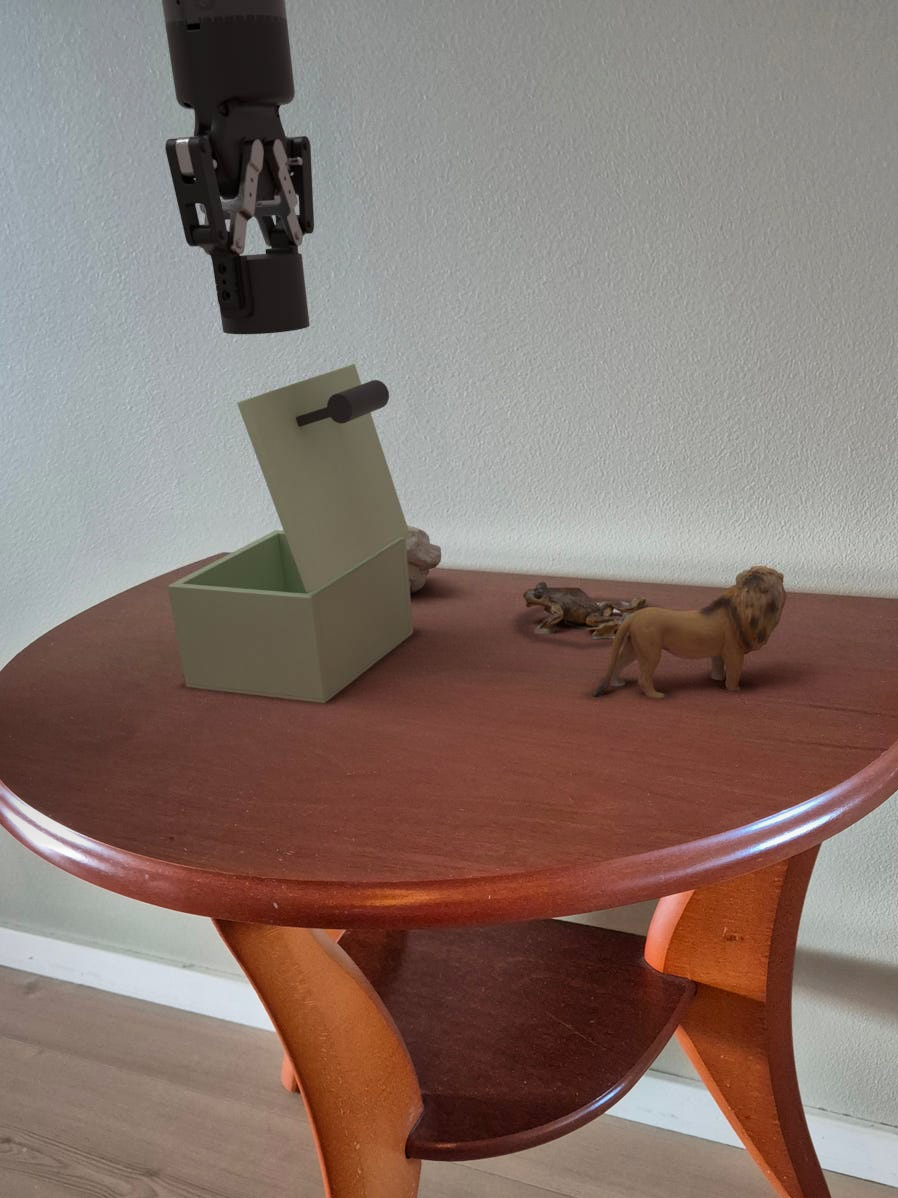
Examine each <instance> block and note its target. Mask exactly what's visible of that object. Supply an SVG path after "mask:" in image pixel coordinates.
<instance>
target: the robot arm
mask: <svg viewBox="0 0 898 1198" xmlns="http://www.w3.org/2000/svg"><path fill="white" fill-rule="evenodd" d="M161 5H162V11H163V12H162V13H163V18H164V26H165V32H166V38H167V44H168V46H167V47H168V52H169V53H168V54H169V59H170V60H169V61H170V65H171V72H172V78H173V85H174V92H175V99H176V101H177V103H178V105H179V106H180V107H181V108H183V109H186V110H191V111H192V110H193V111H194V128H193V136H182V137H181V136H180V137H176V138H168V139H167V140H166V141H165V146H164V147H165V154H166V157H167V162H168V167H169V171H170V175H171V176H170V177H171V180H172V184H173V189H174V193H175V197H176V203H177V207H178V211H179V216H180V220H181V225H182V229H183V233H184V238H185V241H186V243H187V245H188V246H189V247H193V248H194V247H198V248H201V249H202V250H203V251H204V253H205V254H206V255H207V256H210V259H211V261H212V262H211V263H212V270H213V278H214V284H215V290H216V298H217V303H218V305H219V306H220V307H219V313H220V312H221V313H220V315H221V314H222V316H223V317H225V318H228V319H229V318H247V317H251V316H252V315H253V313H254V307H253V299H252V292H251V284H250V277H249V269H248V262H247V255H248V254H245V255H244V254H243V253H244V251H245V247H246V246H245V245H246V236H247V227H248V226H247V225H248V222H249V220H251V219H252V218H255V219H256V221H257V224H258V227H259V230H260V232H261V234H262V235H261V236H262V237H263V240H264V243H265V245H266V246H267V247H269V248H265V254H274V253H299V246H301V245H302V243H303V237H304V236H305V235H308V234H309V235H311V234H313V232H314V229H315V214H314V213H315V212H314V192H313V171H312V169H313V168H312V151H311V149H312V148H311V142H310V139H309V138H308V136H307V135H303V136H302V135H301V136H288V135H287V136H286V132H285V130H284V127H283V123H282V119H281V116H280V107H281V106H285V105H288V104H291V103H292V102H293V101H294V99H295V95H296V90H295V83H294V72H293V63H292V62H293V61H292V54H291V53H292V52H291V45H290V44H291V43H290V34H289V26H288V25H289V23H288V17H287V7H286V0H161ZM196 204H197V205H198V204H199V210H200V212H201V213H202V214H204V221H203V224H200V219H199V215H198V210H197V205H196ZM297 205H298V212H299V213H298V214H296V210H295V208H296V206H297ZM273 216H274V217H275V221H274V217H273ZM228 220H229V228H228V229H227V223H226V221H228ZM242 254H243V255H242Z"/></svg>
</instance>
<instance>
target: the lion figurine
mask: <svg viewBox="0 0 898 1198" xmlns="http://www.w3.org/2000/svg"><path fill="white" fill-rule="evenodd" d="M784 578H785V576H784V573H782V572H778V571H777V570H776V569H774V568H770V567H767V566H764V565H754V566H751V567H750V568H749V569H745V570H743V571H742V572H740V573H738V574H736V576H735V584H734V585H731V586H729V588H728V589H727V590H725V591H723V592H722V594H721V595H719V596H718V597H717V598H716V599H713V600H712V601H711V602H710V603H709V604H708V605H707V606H705V607H702V608H701V609H693V610H674V609H673V610H672V609H667V608H663V607H658V606H648V608H644V609H641V610H638V611H636V612H634V613H632V614H631V615H629V616H628V617H627V618H626V619H625V620H624V621H623V622H622V623H620V625H619V626H618V629H617V630H616V632H615V634H616V635H615V638H613V640H612V644H611V648H610V652H609V656H608V662H607V666H606V667H607V668H606V672H605V675H604V677H603V680H602V682H601V683H600V684H599V685H598V687H597V688H596V690H595V691H594V692H593V693H592V697H602V696H603V695H604V694H605V693H606V692H607V690H608V689H609V687H623V686H624V685H626V681H624V680H622V679H619V675H620V674H621V672H622V671H623V670H624V669H625V668H626V667H627V666H629V665H631V664H632V663H633V662H634V661H635V660H637V661H638V664H639V670H640V671H639V675H638V680H637V684H638V685H639V687H640V688H641V690H642V691H643V693H644V695H645V696H646V697H648V698H658V699H661V698H665V696H666V695H665V693H663V692H661V691H660V692H659V691H657V690H656V689H655V688H654V683H653V678H654V675H655V673H656V671H657V667H658V666H659V664H660V662H661V657H662V651H665V652H667V653H669V654H670V655H672V656H674V657H677V658H681V659H685V660H693V661H694V660H703V659H704V660H705V659H708V658H709V659H710V658H711V670H710V671H711V672H710V679H712V680H715V681H723V680H724V679H725V687H726V690H728V691H734V692H735V691H739V690H742V688H741V686H739V682H740V679H741V674H742V671H743V666H744V661H745V655H748V654H750V653H752V652H758V651H760V650H761V648H762V647H763V646H766V645H767V643H768V641H769V639H770V637H771V636H772V633H773V632H774V630H775V628H777V626H778V625H779V623H780V621H781V616H782V613H783V610H784V608H785V604H786V601H787V597H788V595H787V592H786V589H785V587H784V584H783V583H784ZM624 639H625V640H624ZM622 645H623V646H622ZM724 673H725V674H724Z"/></svg>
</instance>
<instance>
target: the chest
mask: <svg viewBox="0 0 898 1198" xmlns="http://www.w3.org/2000/svg"><path fill="white" fill-rule="evenodd" d="M167 592H168V596H169V602H170V607H171V612H172V618H173V623H174V628H175V635H176V639H177V646H178V650H179V655H180V660H181V666H182V671H183V676H184V682H185V687H186V688H194V689H202V690H211V691H217V692H219V691H220V692H228V693H237V694H243V695H244V694H245V695H254V696H261V697H270V698H271V697H272V698H279V699H287V700H295V701H305V702H312V703H313V702H314V703H321V704H325V703H327V702H328V701H329V700H331V699H332V698H333V697H334V696H336V695H337V694H338V693H339V692H340V691H342V690H343V689H344V688H346V687H347V686H348V685H350V684H351V683H352V682H353V681H354V680H356V679H357V678H359V676H361V675H362V674H364V673H365V672H366V671H367V670H368V669H370V668H371V667H373V665H374V664H376V663H377V662H379V661H380V660H381V659H382V658H383V657H385V656H386V655H387V654H389V653H390V652H391V651H392V650H393V649H395V648H396V647H397V646H399V644H401V643H402V642H404V641H405V640H406V639H408V638H410V636H411V635H413V633H414V625H413V614H412V613H413V612H412V601H411V600H412V599H411V593H410V588H409V575H408V563H407V551H406V539H405V538H398V539H396V540H395V541H393V542H391V543H390V544H388V545H387V546H385V547H383V548H382V549H380V550H379V551H377V552H375V553H374V554H372V555H371V556H369V557H367V558H366V559H364V560H363V561H361V562H359V563H358V564H356V565H355V566H353V567H351V568H350V569H348V570H347V571H345V572H344V573H342V574H340V575H339V576H337V577H336V578H334V579H332V580H331V581H329V582H328V583H326V584H324V585H323V586H321V587H320V588H318V589H316V590H315V591H310V592H306V590H305V587H304V585H303V582H302V579H301V576H300V574H299V571H298V568H297V565H296V563H295V560H294V557H293V555H292V552H291V549H290V546H289V544H288V541H287V538H286V535H285V533H284V530H278V529H275V530H273V531H271V532H269V533H267V534H265V535H264V536H262V537H259V538H258V539H256V540H253V541H252V542H250V543H248V544H246V545H244V546H242V547H240V548H238V549H236V550H234V551H232V552H231V553H229V554H227V555H225V556H223V557H221V558H219V559H217V560H215V561H213V562H211V563H209V564H206V565H205V566H204V567H203V566H202V567H201V568H199V569H197V570H196V571H194V572H192V573H190V574H188V575H186V576H183V577H182V578H180V579H178V580H176V581H174V582H172V583H170V584H169V585H167Z"/></svg>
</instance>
